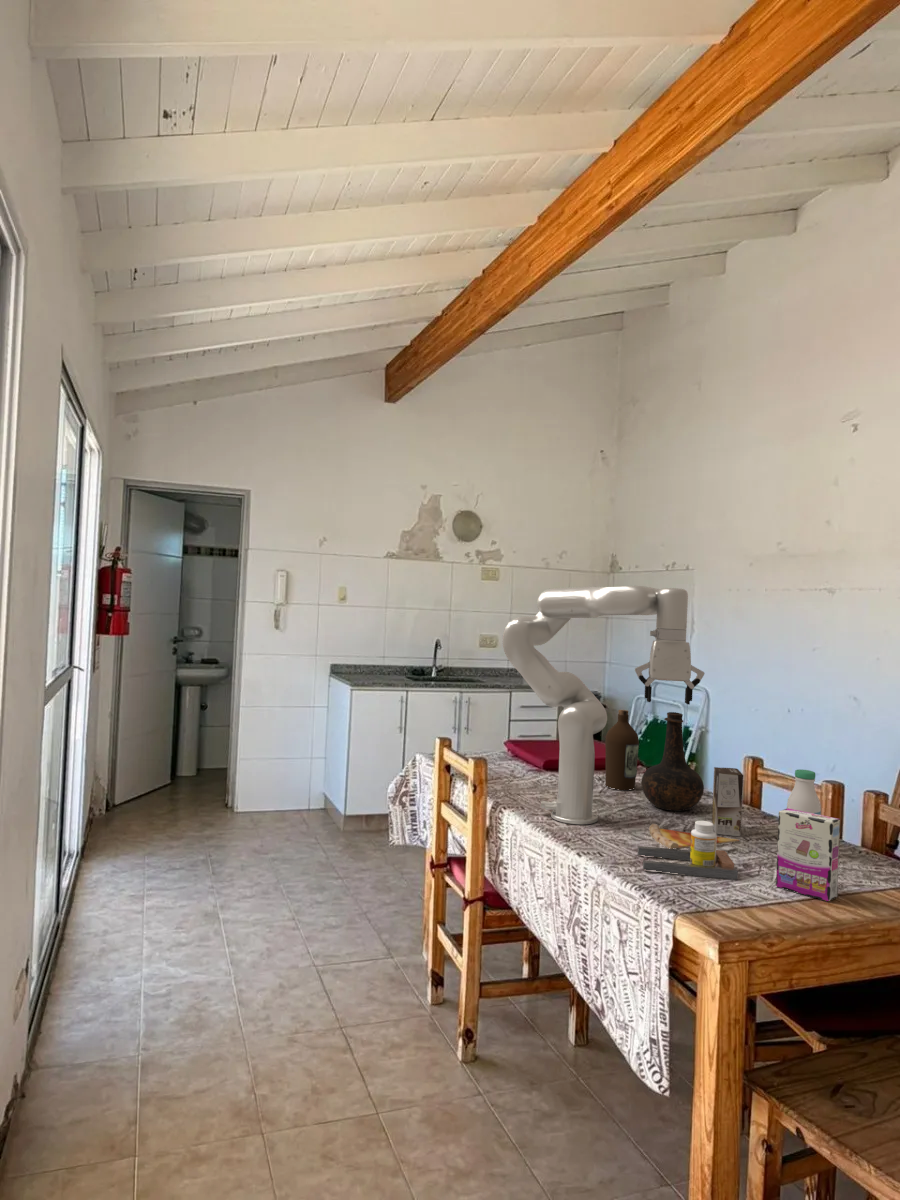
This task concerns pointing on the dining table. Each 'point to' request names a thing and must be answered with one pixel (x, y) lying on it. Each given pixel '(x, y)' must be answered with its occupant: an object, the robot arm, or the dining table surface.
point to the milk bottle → (804, 793)
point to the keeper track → (720, 871)
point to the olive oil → (621, 754)
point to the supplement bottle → (703, 844)
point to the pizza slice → (677, 837)
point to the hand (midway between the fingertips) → (667, 702)
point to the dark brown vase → (673, 773)
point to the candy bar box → (808, 853)
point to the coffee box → (727, 801)
